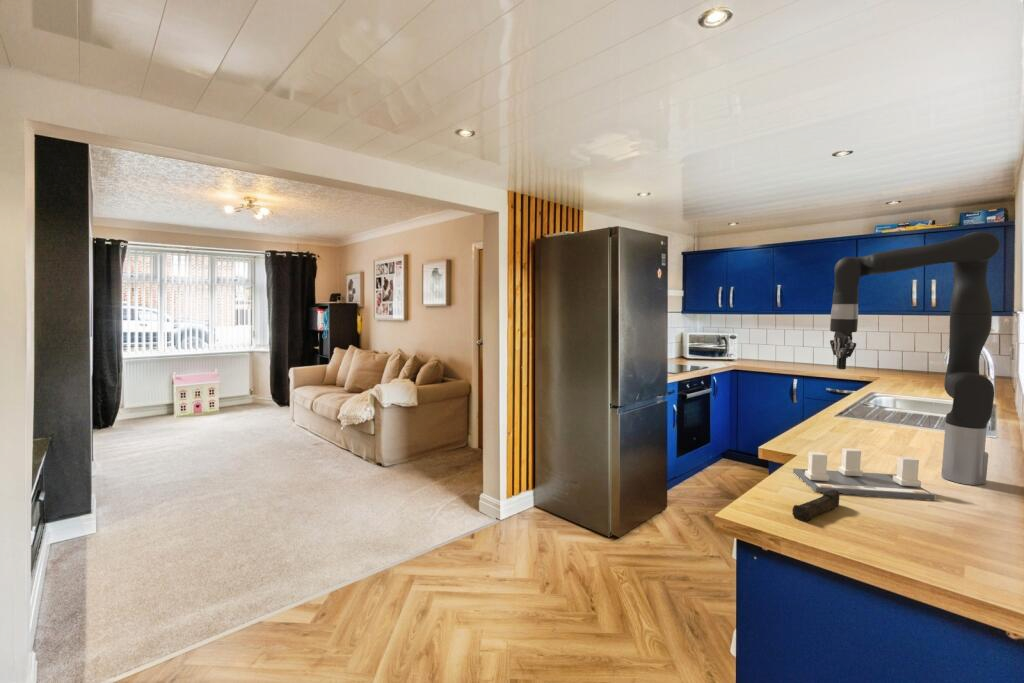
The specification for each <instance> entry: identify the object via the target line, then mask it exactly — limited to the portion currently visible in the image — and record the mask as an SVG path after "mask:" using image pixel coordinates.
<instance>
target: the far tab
mask: <svg viewBox="0 0 1024 683" xmlns="http://www.w3.org/2000/svg"><path fill="white" fill-rule="evenodd" d="M807 463H808V464H807V465H808V466H807V469H808V470H805V476H806V477H808V478H809V479H810V480H821V481H829V475H827V474H826V470H828V468H827V465H828V455H827V454H826V453H824V452H818V451H817V452H816V451H809V452H808V461H807Z"/></svg>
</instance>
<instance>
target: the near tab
mask: <svg viewBox="0 0 1024 683" xmlns="http://www.w3.org/2000/svg"><path fill="white" fill-rule="evenodd" d="M919 463H920V459H918V458H915V457H913V456H912V457H911V456H897V466H896V474H897V476H893V481H895V482H896V483H898V484H900V485H902V486H918V487H922V481H921V480H919V478H918V477H919Z"/></svg>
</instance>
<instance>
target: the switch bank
mask: <svg viewBox="0 0 1024 683" xmlns="http://www.w3.org/2000/svg"><path fill="white" fill-rule="evenodd" d="M805 470H808V468H793V470H792V473H793V474H794V473H795V474H796V475H797V476H798V477H799V478H798V477H797V476H796V475H795V474H794V475H795V476H796V477H797V478H798V479H800V478H801V479H802V480H803V481H804V482H805V483H806V484H805V483H804V482H803V481H802V480H801V479H800V480H801V481H802V482H803V483H804V484H805V485H807V486H808V487H809V486H810V487H811V488H812V489H813V490H812V489H811V488H810V487H809V488H810V489H811V490H812V491H813V492H815V493H817V492H822V494H823V493H824V492H826V491H830V490H837V491H838V492H839V493H843V494H842V495H847V494H856V495H855V496H863V495H869V496H868V497H878V496H881V497H882V498H893V497H894V498H897V499H909V498H914V499H913V500H924V499H930V500H929V501H935V494H934V493H933V492H931V491H929V490H927V489H925V488H923V487H922V486H921V487H918V486H902V485H900V484H898V483H896V482H895V481H893V476H897V473H894V474H893V473H878V472H863V476H848V475H843V474H842V473H841V472H839V471H838V470H829V469H827V470H826V474H827V475H829V481H821V480H810V479H809V478H808V477H806V476H805ZM870 495H871V496H870ZM881 497H880V498H881ZM915 498H916V499H915Z"/></svg>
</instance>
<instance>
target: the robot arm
mask: <svg viewBox="0 0 1024 683" xmlns="http://www.w3.org/2000/svg"><path fill="white" fill-rule="evenodd" d="M1000 247H1001V243H1000V239H999V237H997V236H996V235H994V234H992V233H990V232H988V231H980V230H979V231H974V232H969V233H967V234H965V235H962V236H959V237H956V238H952V239H949V240H945V241H941V242H935V243H930V244H926V245H919V246H911V247H904V248H896V249H889V250H884V251H879V252H873V253H872V254H868V255H863V256H862V255H861V256H855V257H852V256H845V257H842V258H841V259H839V260H838V261H837V262H836V263H835V265H834V271H833V272H834V289H833V294H832V305H831V311H830V323H829V330H830V332H833V333H834V335H833V339H830V340H829V344H830V347H831V350H832V354H833V356H835V357H836V369H838V370H846V369H847V368H846V367H847V359H848V358H851V356H852V355H853V353H854V352H855V348H856V347H857V343H856V342H853V333H857V332H858V325H859V324H858V322H859V305H858V304H859V284H860V279H861V278H862V277H866V276H867V277H868V276H871V275H883V274H890V273H895V272H901V271H906V270H912V269H917V268H921V267H927V266H931V265H932V266H933V265H938V264H947V263H952V268H953V287H952V293H951V303H950V309H949V310H950V312H949V313H950V314H949V340H948V342H949V344H948V350H949V352H948V353H949V354H948V363H947V367H946V373H945V377H944V385H943V386H944V390H945V392H946V394H947V395H948V396H949V397H950V398H952V408H951V411H949V412H948V413H947V414H946V415H945V426H944V438H943V450H942V462H941V464H942V465H941V477H942V478H943V479H945V480H948V481H951V482H954V483H958V484H961V485H962V484H963V485H972V486H980V485H986V484H987V474H988V465H989V452H987V451H986V441H987V440H986V439H987V428H988V423H989V421H990V420H991V418H992V413H993V407H994V400H995V388H994V384H993V382H992V380H990V379H989V378H988V377H986V376H984V375H981V374H980V358H981V353H982V351H983V349H984V347H985V344H986V342H987V341H988V338H989V336H990V334H991V330H992V322H993V321H992V320H993V304H992V300H991V299H992V298H991V295H990V291H989V287H988V284H987V283H988V282H987V273H988V268H989V267H988V265H989V262H990V261H989V260H991V259H992V258H993V257H994V256H995V255H996V254H997V253H998V252H999V250H1000Z"/></svg>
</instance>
